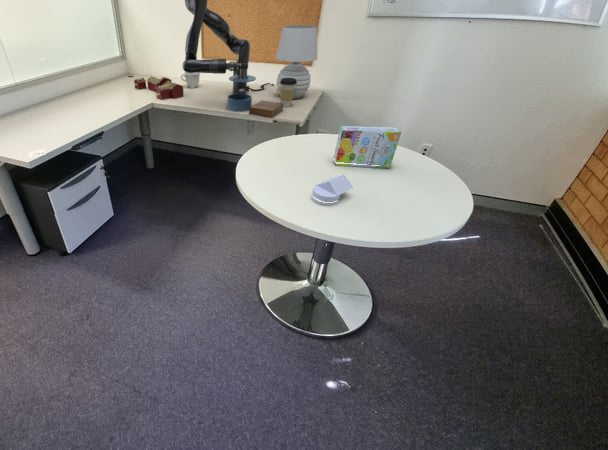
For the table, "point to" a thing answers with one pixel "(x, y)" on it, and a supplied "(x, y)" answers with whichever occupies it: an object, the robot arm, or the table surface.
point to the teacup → (191, 79)
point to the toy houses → (161, 87)
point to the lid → (242, 76)
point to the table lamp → (297, 55)
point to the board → (266, 108)
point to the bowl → (239, 102)
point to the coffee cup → (287, 91)
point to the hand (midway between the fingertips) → (247, 66)
